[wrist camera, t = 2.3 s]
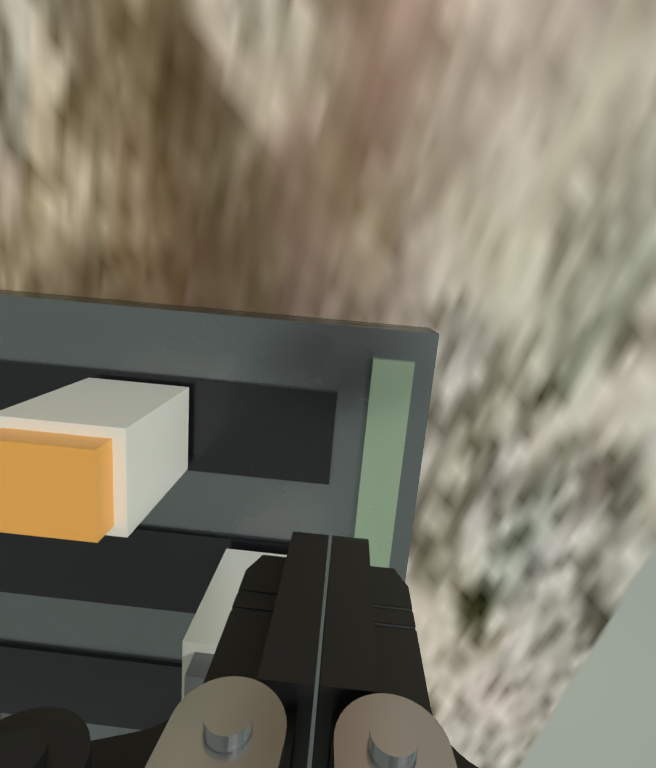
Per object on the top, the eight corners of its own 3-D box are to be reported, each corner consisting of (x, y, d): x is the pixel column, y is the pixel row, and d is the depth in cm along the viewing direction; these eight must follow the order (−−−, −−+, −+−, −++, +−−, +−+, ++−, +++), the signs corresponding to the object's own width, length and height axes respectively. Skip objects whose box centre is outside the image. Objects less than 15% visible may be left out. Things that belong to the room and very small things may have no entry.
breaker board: (-35, 286, 18) (-87, 287, 16) (429, 328, 17) (440, 334, 15) (3, 705, 23) (-34, 750, 20) (373, 750, 22) (375, 801, 20)
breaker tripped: (88, 377, 16) (-39, 424, 11) (189, 387, 16) (109, 439, 11) (91, 459, 17) (-28, 540, 11) (187, 468, 16) (111, 555, 11)
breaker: (226, 548, 17) (171, 664, 12) (320, 558, 17) (306, 680, 12) (223, 618, 18) (170, 757, 13) (314, 628, 18) (298, 772, 12)
